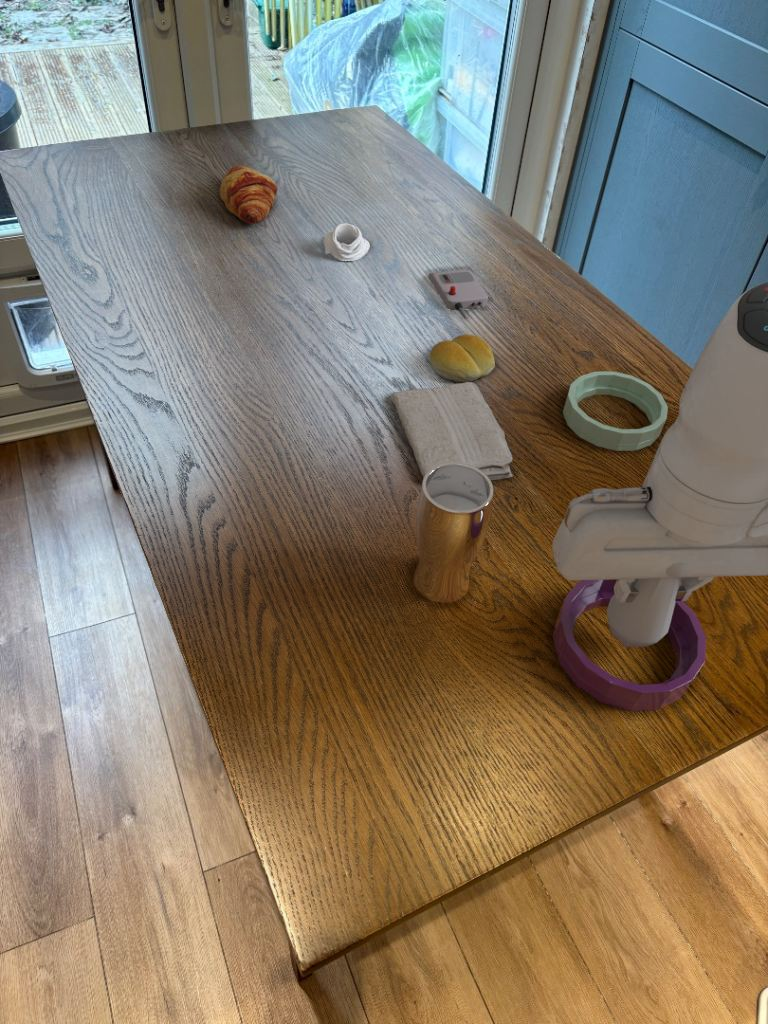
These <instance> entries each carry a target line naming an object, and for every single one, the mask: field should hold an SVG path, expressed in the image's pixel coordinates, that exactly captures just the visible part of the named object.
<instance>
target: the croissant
mask: <svg viewBox="0 0 768 1024" xmlns="http://www.w3.org/2000/svg"><path fill="white" fill-rule="evenodd" d="M277 193H278V186H277V184H276V183H275V181H274V180H273V179H272V178H271V177H270V176H269V175H267V174H265V173H262V172H259V171H257V170H256V169H255V168H252V167H249V166H245V165H237V166H231V167H230V168H229V169H228V171H227V172H226V173H225V176H224V177H223V178H222V180H221V184H220V187H219V197H220V199H221V200H222V201H223V202H224V204H225V205H224V206H225V207H226V209H227V211H229V212H230V213H231V214H234V216H236V217H237V218H239V220H241V221H242V222H244V223H245V224H249V225H254V224H257V223H259V222H261V221H263V220H266V218H267V217H268V215H269V213H270V211H272V209H273V206H274V202H275V198H276V196H277Z"/></svg>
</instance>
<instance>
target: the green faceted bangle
mask: <svg viewBox="0 0 768 1024" xmlns="http://www.w3.org/2000/svg"><path fill="white" fill-rule="evenodd" d="M598 395H599V396H612V397H617V398H620V399H624V400H626V401H627V402H630V403H632V404H634V405H636V406H637V407H638V408H639V409H640V410H641V411H642V412H643V413H644V414H645V415H646V417H647V419H648V421H649V425H647V426H643V427H641V428H618V427H615V426H610V425H606V424H604V423H601V422H599V421H598V420H597V419H594V418H592V417H590V416H588V414H587V413H586V412H585V411H583V410H582V408H580V406H579V404H578V403H580V402H581V401H582V400H583V399H585V398H589V397H592V396H598ZM668 411H669V407H668V404H667V402H666V400H665V399H664V397H663V395H662V394H661V392H659V391H658V390H657V389H655V387H653V385H651V384H650V383H649V382H646V381H645V380H642V379H640V378H637V377H636V376H633V375H631V374H626V373H622V372H618V371H612V370H611V371H605V370H604V371H603V370H602V371H593V372H592V371H591V372H589V373H585V374H583V375H580V376H578V377H577V378H576V379H575V380H574V381H572V383H570V385H569V389H568V392H567V395H566V399H565V402H564V406H563V410H562V415H563V417H564V420H565V422H566V425H567V426H568V427H569V428H570V429H571V431H573V432H574V433H575V434H576V435H577V436H578V437H579V438H581V439H583V440H584V441H585V442H588V443H590V444H592V445H594V446H596V447H599V448H603V449H608V450H611V451H616V452H622V451H623V452H625V451H627V452H630V451H631V452H632V451H638V450H641V449H644V448H647V447H650V446H651V445H652V444H654V442H655V441H656V440H657V439H658V438H659V437H660V435H661V433H662V431H663V428H664V426H665V423H666V421H667V419H668Z"/></svg>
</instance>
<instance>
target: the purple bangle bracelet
mask: <svg viewBox="0 0 768 1024" xmlns="http://www.w3.org/2000/svg"><path fill="white" fill-rule="evenodd" d="M616 581H617V579H609V580H578V582H577V583H576V584H575V585H574V587H572V589H571V590H570V591H569V592H568V593H567V594H566V596H564V598H563V601H562V604H561V607H560V609H559V611H558V615H557V617H556V621H555V624H554V625H555V627H554V630H553V636H552V641H553V645H554V648H555V652H556V655H557V660H558V662H559V665H561V667H562V669H563V670H564V671H565V673H566V674H567V675H568V677H569V678H570V680H572V681H573V683H574V684H575V685H576V686H577V687H579V688H580V690H582V691H584V692H585V693H587V694H589V695H590V696H591V697H592V698H594V699H596V700H597V701H598V702H600V703H603V704H605V705H609V706H612V707H616V708H618V709H622V710H625V711H629V712H640V711H643V712H644V711H658V710H661V709H663V708H665V707H667V706H669V705H671V704H673V703H675V702H677V701H679V700H680V699H682V697H683V695H684V694H685V692H686V691H687V690H688V688H689V687H690V685H691V684H692V683H693V682H694V680H695V678H696V676H697V675H698V674H699V672H700V670H701V668H702V667H703V666H704V664H705V663H706V651H707V650H706V649H707V637H706V634H705V632H704V630H703V627H702V625H701V623H700V620H699V618H698V616H697V614H696V613H695V612H694V611H693V610H692V609H691V607H690V606H689V605H688V604H687V603H686V601H676V603H675V607H674V611H673V615H672V619H671V623H670V626H669V630H668V633H667V634H666V635H665V636H667V637H668V639H669V641H670V644H671V646H672V649H673V651H674V654H675V663H674V672H673V673H672V675H671V676H670V678H669V679H666V680H665V681H662V682H661V683H651V684H649V683H648V684H639V683H635V682H632V681H629V680H625V679H622V678H619V677H616V676H613V675H612V674H610V673H608V672H607V671H606V670H604V669H603V668H601V667H600V666H598V665H597V664H596V663H594V662H593V661H591V660H590V659H589V657H588V656H587V655H586V653H585V652H584V651H583V650H582V648H581V647H580V646H579V644H578V643H577V642H576V639H575V634H574V631H575V626H576V622H577V621H578V620H579V619H580V617H581V616H582V615H583V614H584V613H586V612H589V611H591V610H593V609H596V608H598V607H608V605H609V602H610V599H611V598H612V597H613V596H614V594H615V593H614V586H615V584H616Z"/></svg>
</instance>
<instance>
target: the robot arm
mask: <svg viewBox="0 0 768 1024" xmlns="http://www.w3.org/2000/svg"><path fill="white" fill-rule="evenodd" d="M641 486H642V487H624V488H623V487H622V488H609V487H599V488H598V487H597V488H594V489H591V491H590V493H586V494H582V495H580V496H579V497H575V498H572V500H571V501H570V502H569V504H568V507H567V509H566V512H565V514H564V518H563V519H562V521H561V522H560V523H561V524H560V525H559V527H558V529H557V531H556V534H555V536H554V538H553V540H552V544H551V550H552V556H553V559H554V563H555V567H556V568H557V572H559V574H560V575H561V576H562V578H564V579H565V580H566V581H582V580H609V579H617V581H616V584H615V586H614V593H615V596H616V599H617V602H618V603H624V602H632V601H633V600H634V599H635V598H636V596H637V595H638V594H639V593H640V592H639V591H638V590H637V589H636V588H634V583H633V582H634V581H635V579H646V578H681V582H680V586H679V589H678V591H677V594H676V599H675V601H684V602H687V601H688V600H689V598H690V597H691V595H692V594H693V592H694V591H697V590H698V589H700V588H702V587H703V586H705V585H707V584H709V583H711V582H712V581H713V580H714V578H717V577H719V578H720V577H752V576H753V577H756V576H758V577H759V576H768V281H767V282H766V281H765V282H762V283H760V284H759V283H758V284H757V285H755V286H753V287H750V288H748V289H746V290H745V291H743V293H741V295H740V296H738V297H737V299H736V300H735V301H734V302H733V303H732V304H731V306H730V307H729V308H728V310H727V311H726V312H725V314H724V315H723V316H722V318H721V319H720V321H719V322H718V324H717V325H716V327H715V328H714V330H713V332H712V333H711V335H710V337H709V338H708V340H707V342H706V344H705V345H704V346H703V349H702V351H701V352H700V355H698V357H697V360H696V362H695V364H694V365H693V368H692V371H691V372H690V374H689V377H688V378H687V380H686V383H685V385H684V388H683V390H682V391H681V395H680V399H679V406H678V415H677V417H676V420H675V421H674V422H673V423H672V425H670V427H669V428H668V429H667V430H666V431H665V433H664V434H663V437H662V438H661V441H660V443H659V446H658V448H657V450H656V452H655V454H654V457H653V459H652V461H651V464H650V467H649V469H648V471H647V474H646V475H645V478H644V480H643V483H642V485H641ZM681 562H682V563H691V569H690V570H689V572H688V573H687V574H686V575H684V576H680V577H670V576H668V575H667V574H666V570H667V568H669V567H670V566H671V565H672V564H676V563H681Z"/></svg>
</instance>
